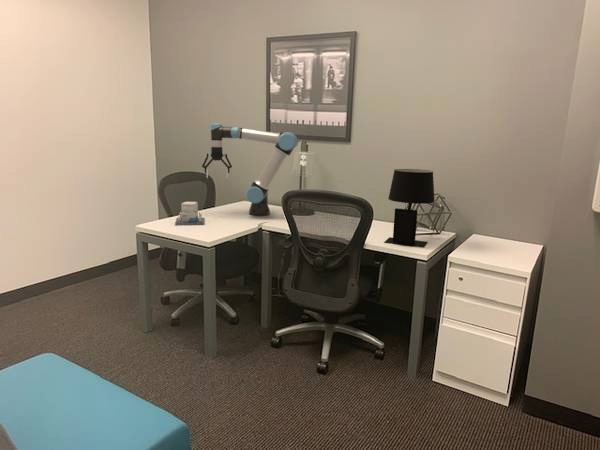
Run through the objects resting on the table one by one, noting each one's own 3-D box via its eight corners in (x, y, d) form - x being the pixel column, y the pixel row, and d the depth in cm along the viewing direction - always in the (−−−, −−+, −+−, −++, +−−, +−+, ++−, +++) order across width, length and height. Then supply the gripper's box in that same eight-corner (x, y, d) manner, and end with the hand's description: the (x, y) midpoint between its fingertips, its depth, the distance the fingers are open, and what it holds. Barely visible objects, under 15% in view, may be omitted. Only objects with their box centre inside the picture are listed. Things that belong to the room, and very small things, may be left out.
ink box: (198, 219, 297) (197, 201, 295) (194, 221, 289) (194, 203, 286) (185, 218, 298) (185, 201, 295) (181, 221, 289) (180, 203, 287)
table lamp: (380, 242, 253) (384, 171, 245) (391, 233, 278) (395, 167, 270) (426, 248, 243) (433, 174, 235) (433, 237, 268) (439, 170, 260)
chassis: (204, 219, 303) (204, 211, 302) (204, 224, 288) (204, 216, 287) (176, 220, 299) (176, 212, 298) (175, 225, 284) (174, 216, 283)
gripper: (234, 146, 314) (235, 177, 319) (198, 146, 309) (198, 177, 314) (235, 147, 307) (235, 178, 311) (197, 146, 302) (198, 178, 307)
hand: (217, 177), depth 313 cm, fingers open, 13 cm apart
